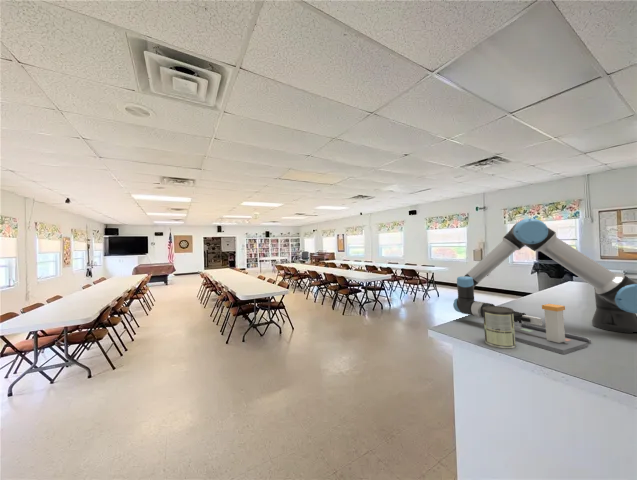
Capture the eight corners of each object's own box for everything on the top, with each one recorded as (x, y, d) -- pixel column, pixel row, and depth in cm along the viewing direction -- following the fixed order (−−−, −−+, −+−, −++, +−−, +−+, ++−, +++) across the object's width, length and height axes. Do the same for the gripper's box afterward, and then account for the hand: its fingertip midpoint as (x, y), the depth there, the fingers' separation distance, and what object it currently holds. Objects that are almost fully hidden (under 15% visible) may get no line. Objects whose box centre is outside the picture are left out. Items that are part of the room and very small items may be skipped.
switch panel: (491, 333, 116) (491, 330, 116) (514, 328, 121) (513, 325, 122) (563, 354, 91) (563, 350, 91) (587, 346, 97) (587, 342, 97)
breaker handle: (544, 339, 101) (541, 305, 102) (551, 337, 103) (549, 303, 104) (560, 343, 97) (557, 307, 97) (567, 341, 99) (564, 306, 99)
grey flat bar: (521, 329, 120) (520, 324, 120) (527, 327, 122) (526, 323, 122) (587, 345, 99) (586, 339, 99) (593, 343, 100) (592, 337, 101)
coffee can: (479, 339, 109) (477, 306, 110) (505, 339, 108) (503, 305, 109) (493, 348, 99) (491, 311, 100) (522, 348, 98) (519, 311, 98)
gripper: (493, 316, 128) (551, 328, 107) (475, 319, 124) (531, 333, 102) (492, 301, 129) (549, 310, 107) (474, 304, 124) (530, 314, 102)
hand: (540, 321), depth 104 cm, fingers closed
